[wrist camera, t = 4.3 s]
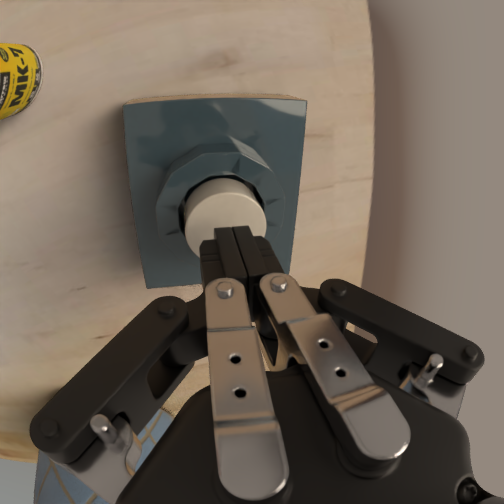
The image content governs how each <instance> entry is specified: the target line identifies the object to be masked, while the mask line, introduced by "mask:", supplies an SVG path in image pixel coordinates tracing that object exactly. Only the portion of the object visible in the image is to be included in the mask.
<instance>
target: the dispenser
mask: <svg viewBox="0 0 504 504" xmlns="http://www.w3.org/2000/svg"><path fill="white" fill-rule="evenodd" d="M306 110H307V100H304V99H300V98H297V97H294V96H290V95H273V94H196V95H177V96H163V97H152V98H142V99H133V100H130V101H129V102H127V103H126V104H124V105H123V121H124V135H125V147H126V158H127V168H128V177H129V185H130V193H131V201H132V208H133V215H134V222H135V228H136V234H137V240H138V246H139V252H140V258H141V263H142V268H143V273H144V278H145V283H146V288H147V289H151V288H162V287H174V286H185V285H195V284H202V280H201V270H200V258H199V257H198V256H197V255H196V254H195V253H194V252H193V251H192V250H191V249H190V247H189V245H188V243H187V240H186V236H185V225H184V208H185V204H186V202H187V199H188V198H189V196H190V194H191V193H192V192H193V191H194V190H195V189H196V188H197V187H199V186H200V185H201V184H203V183H205V182H207V181H210V180H213V179H219V178H228V179H233V180H237V181H239V182H241V183H243V184H244V185H246V186H247V187H248V188H249V189H250V190H251V191H252V193H253V194H254V196H255V198H256V199H257V201H258V203H259V204H260V206H261V208H262V210H263V212H264V214H265V217H266V233H265V236H264V238H265V239H266V240H268V241H269V243H270V245H271V247H272V250H273V251H274V253H275V256H276V257H277V259H278V261H279V263H280V265H281V267H282V269H283V271H284V273H285V274H287V275H289V271H290V263H291V255H292V247H293V239H294V231H295V222H296V213H297V204H298V195H299V186H300V176H301V166H302V156H303V145H304V134H305V123H306Z"/></svg>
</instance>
